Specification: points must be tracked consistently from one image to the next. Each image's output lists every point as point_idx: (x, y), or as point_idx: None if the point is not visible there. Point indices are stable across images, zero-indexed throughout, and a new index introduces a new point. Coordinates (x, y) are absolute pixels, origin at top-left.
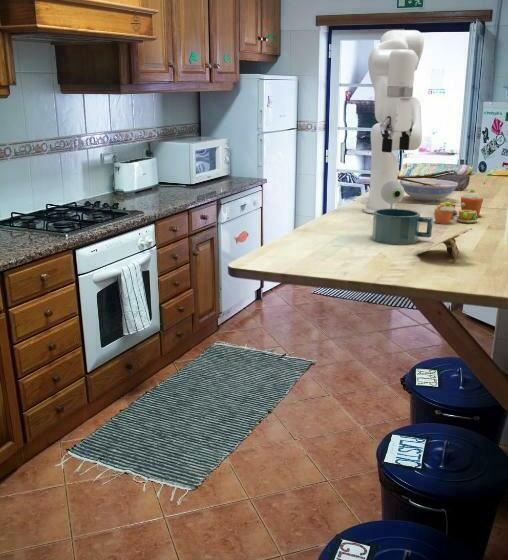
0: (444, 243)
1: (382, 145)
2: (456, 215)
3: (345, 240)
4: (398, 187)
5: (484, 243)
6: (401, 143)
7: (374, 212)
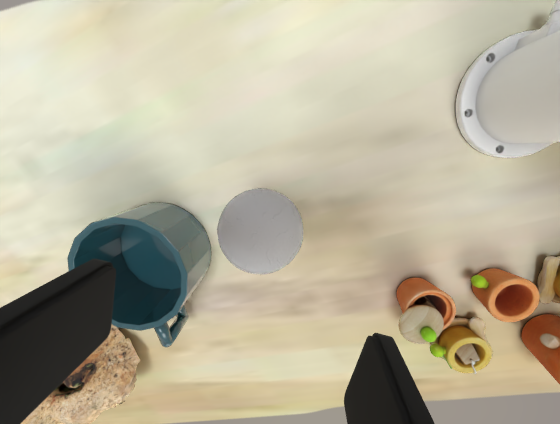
0: (92, 366)
1: (48, 287)
2: (476, 319)
3: (87, 160)
4: (236, 266)
5: (241, 391)
6: (378, 399)
7: (88, 225)
